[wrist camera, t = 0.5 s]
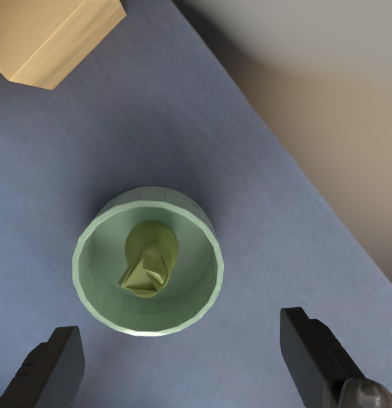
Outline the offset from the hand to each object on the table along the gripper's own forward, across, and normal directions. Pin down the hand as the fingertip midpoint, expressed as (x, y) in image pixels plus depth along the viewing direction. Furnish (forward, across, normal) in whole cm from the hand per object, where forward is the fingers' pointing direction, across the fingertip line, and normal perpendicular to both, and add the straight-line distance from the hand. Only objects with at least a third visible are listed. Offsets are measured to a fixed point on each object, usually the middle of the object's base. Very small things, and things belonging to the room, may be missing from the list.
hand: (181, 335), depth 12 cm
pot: (+22, +3, +5) cm, 23 cm away
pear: (+22, +3, +4) cm, 22 cm away
